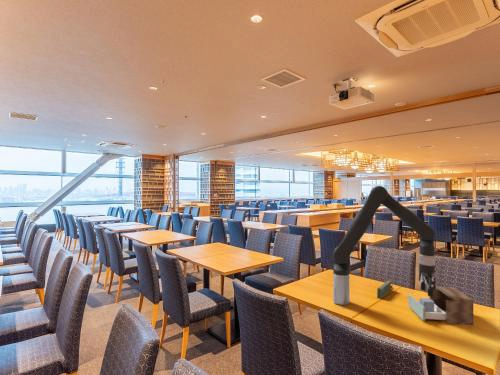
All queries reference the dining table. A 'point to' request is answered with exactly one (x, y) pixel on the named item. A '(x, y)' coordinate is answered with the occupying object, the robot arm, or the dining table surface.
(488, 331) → the dining table surface
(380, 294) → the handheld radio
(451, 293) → the open wooden box
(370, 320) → the dining table surface
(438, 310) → the tray
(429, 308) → the slate block
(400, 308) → the dining table surface
